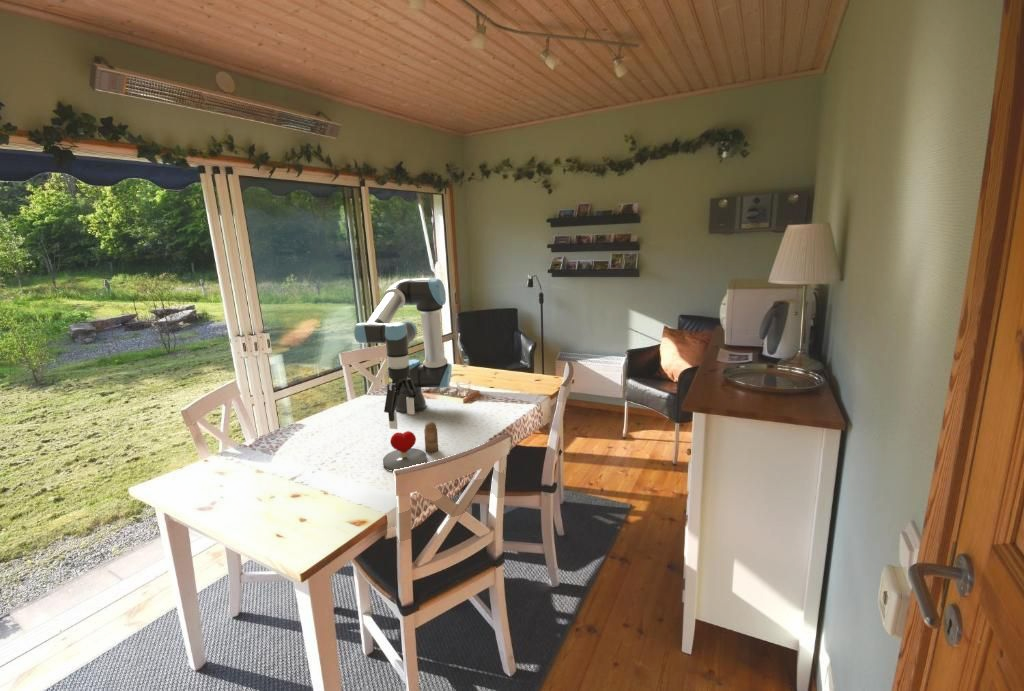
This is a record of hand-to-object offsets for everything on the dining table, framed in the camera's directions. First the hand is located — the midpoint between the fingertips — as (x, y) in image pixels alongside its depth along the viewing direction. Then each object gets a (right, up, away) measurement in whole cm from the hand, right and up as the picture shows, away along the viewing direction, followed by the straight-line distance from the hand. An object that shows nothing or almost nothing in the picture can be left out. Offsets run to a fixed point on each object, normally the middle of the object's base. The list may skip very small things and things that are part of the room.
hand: (402, 420), depth 176 cm
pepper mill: (+9, -14, +12) cm, 20 cm away
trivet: (0, -16, +4) cm, 16 cm away
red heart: (0, -15, +3) cm, 15 cm away
